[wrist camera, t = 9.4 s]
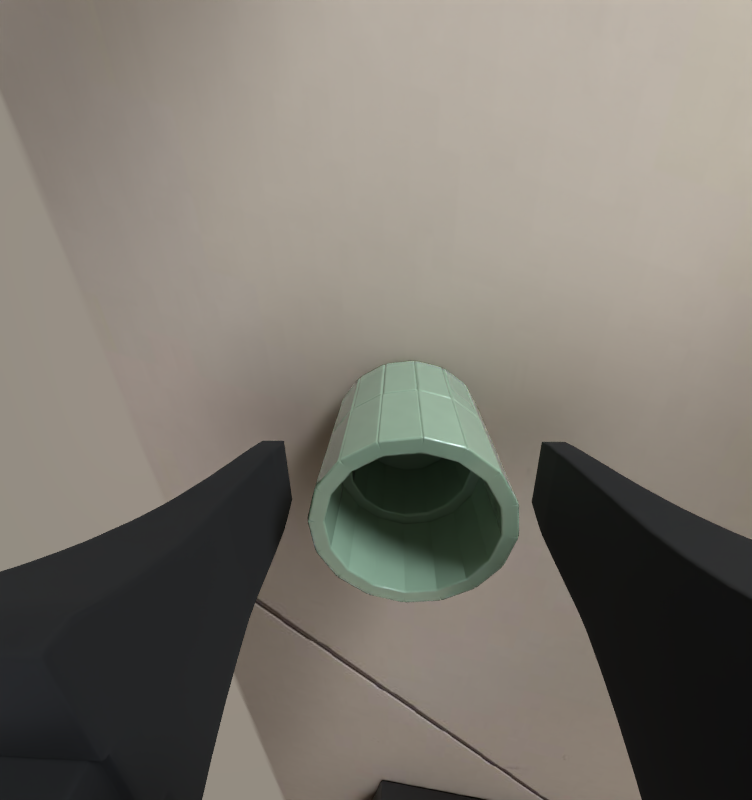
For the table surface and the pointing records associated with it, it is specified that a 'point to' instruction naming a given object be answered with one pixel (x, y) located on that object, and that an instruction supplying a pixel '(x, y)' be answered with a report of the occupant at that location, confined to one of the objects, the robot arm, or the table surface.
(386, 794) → the scale
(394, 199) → the table surface
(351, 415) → the green faceted cup
